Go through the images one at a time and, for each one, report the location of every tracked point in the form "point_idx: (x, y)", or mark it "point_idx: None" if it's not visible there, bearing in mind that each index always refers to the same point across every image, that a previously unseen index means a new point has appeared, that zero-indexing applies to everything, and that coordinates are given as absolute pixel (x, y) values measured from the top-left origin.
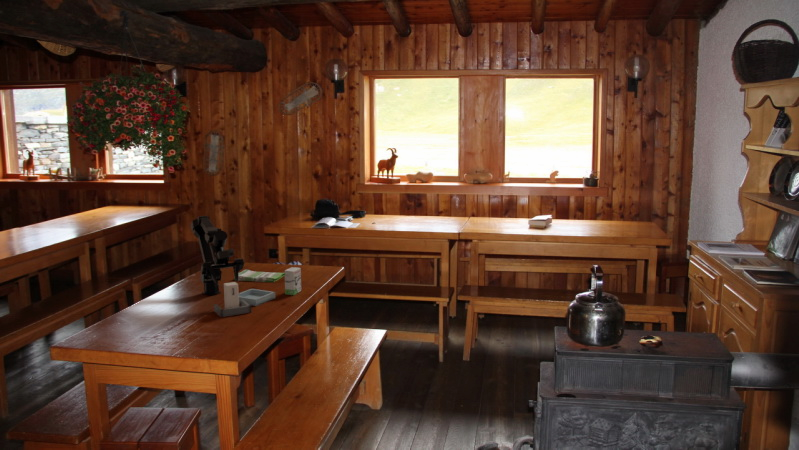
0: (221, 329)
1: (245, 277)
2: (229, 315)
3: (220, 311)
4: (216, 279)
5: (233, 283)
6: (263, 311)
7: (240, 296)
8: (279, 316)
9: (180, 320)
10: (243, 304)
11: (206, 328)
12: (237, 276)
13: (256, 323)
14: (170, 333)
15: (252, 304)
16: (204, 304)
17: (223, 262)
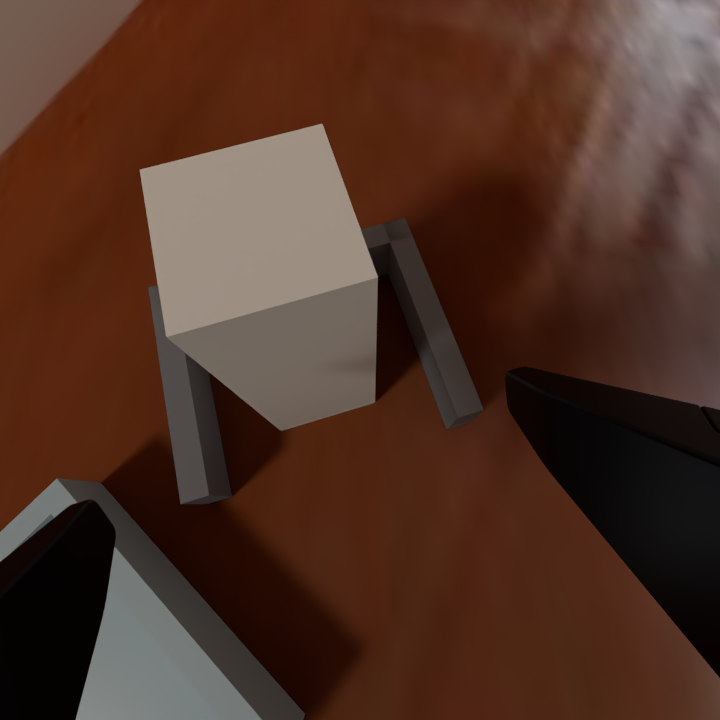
0: (385, 55)
1: None
2: None
3: (404, 223)
4: (550, 393)
5: (206, 242)
6: (83, 318)
7: (190, 679)
8: (17, 191)
9: (687, 245)
10: (203, 417)
11: (472, 81)
12: (12, 558)
13: (185, 104)
14: (664, 47)
15: (121, 512)
16: (604, 701)
17: None
